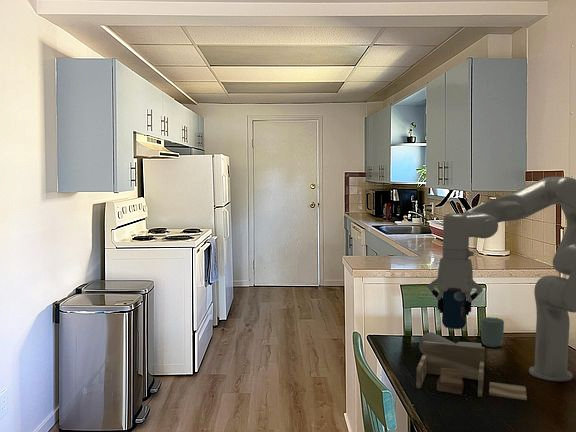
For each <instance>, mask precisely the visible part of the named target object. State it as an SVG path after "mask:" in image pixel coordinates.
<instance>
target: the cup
mask: <svg viewBox="0 0 576 432" xmlns="http://www.w3.org/2000/svg"><path fill="white" fill-rule="evenodd" d="M480 322H481V323H480V337H481V342H482V344H483V345H484V346H485V347H487V348H499V347H500V346H501V345H502V344H503V339H504V328H505V325H504V324H505V321H504V320H503V319H502V318H498V317H489V316H488V317H486V316H485V317H482V318H481V321H480Z"/></svg>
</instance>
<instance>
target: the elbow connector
mask: <svg viewBox="0 0 576 432" xmlns="http://www.w3.org/2000/svg"><path fill="white" fill-rule="evenodd" d="M424 341H429V342H438V343H448V344H457V345H467V346H476V347H483V346H482V344H483V343H481V342H472V341H471V342H470V341H469V342H467V341H457V342H454V341H451V340H450V339H447V338H445V337H444V336H441V335H439V334H438V333H435V332H432V331H429V332H426V333H424V334H423V335H421V337H420V338H419V341H418V342H419V343H418V349H419V351H420V353H421V354H422V355H423V342H424Z"/></svg>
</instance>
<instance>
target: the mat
mask: <svg viewBox="0 0 576 432" xmlns="http://www.w3.org/2000/svg"><path fill="white" fill-rule="evenodd" d="M488 387H489V389H488V396H493V397H500V398H507V399H516V400H524V401H528V396H527V388H526V386H525V385H517V384H509V383H501V382H493V381H489V386H488Z"/></svg>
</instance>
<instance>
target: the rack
mask: <svg viewBox="0 0 576 432" xmlns="http://www.w3.org/2000/svg"><path fill="white" fill-rule="evenodd" d="M485 347H486V346H485ZM485 347H484V346H482V347H476V346H467V345H457V344H448V343H438V342H429V341H424V342H423V354H422V355H421V358H420V360H419V363H418V365H416V366H417V367H416V380H415V381H416V383H415V385H416V387H415V388H416V389H419V390H420V389H421V388H422V385H423V382H424V381H425V378H426V375H427V374H428V375H429V374H430V375H437V376H440V375H441V368H450V369H460V370H462V379H468V380H477V384H478V385H477V397H478V398H483V391H484V380H485V379H484V377H485V350H486V349H485Z"/></svg>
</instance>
